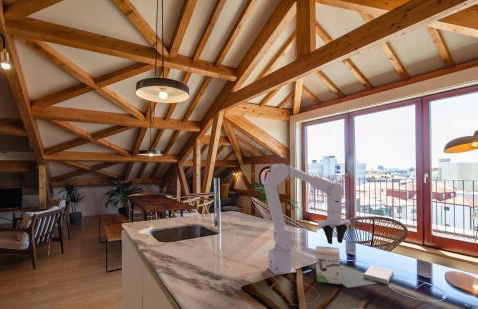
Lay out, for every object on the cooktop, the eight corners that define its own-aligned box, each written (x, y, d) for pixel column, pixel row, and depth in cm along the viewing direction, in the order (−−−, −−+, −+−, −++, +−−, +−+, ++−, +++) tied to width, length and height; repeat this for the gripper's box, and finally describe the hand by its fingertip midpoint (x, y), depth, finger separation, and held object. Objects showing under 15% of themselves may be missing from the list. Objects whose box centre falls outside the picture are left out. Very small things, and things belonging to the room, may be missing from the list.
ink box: (316, 282, 97) (314, 250, 98) (317, 276, 102) (315, 245, 102) (341, 284, 94) (339, 251, 95) (340, 278, 99) (339, 247, 99)
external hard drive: (363, 278, 100) (371, 268, 109) (387, 284, 94) (393, 273, 104) (363, 273, 100) (371, 264, 109) (387, 279, 94) (393, 269, 104)
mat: (347, 288, 92) (347, 287, 92) (324, 272, 106) (324, 271, 106) (377, 283, 96) (377, 283, 96) (351, 269, 109) (351, 268, 109)
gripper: (324, 213, 106) (325, 247, 105) (355, 211, 109) (355, 244, 109) (315, 210, 112) (315, 242, 112) (344, 208, 116) (344, 239, 116)
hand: (334, 243), depth 111 cm, fingers open, 4 cm apart
